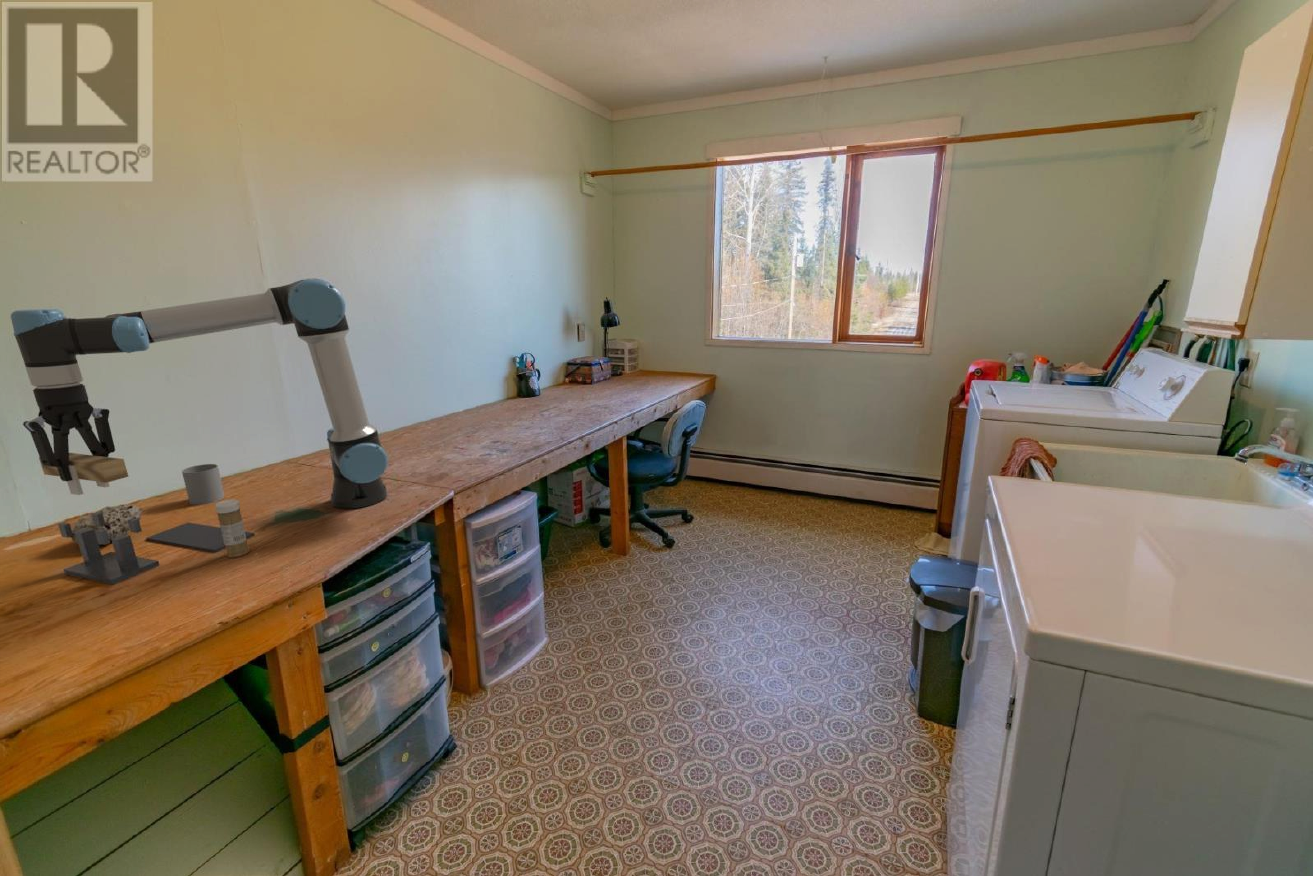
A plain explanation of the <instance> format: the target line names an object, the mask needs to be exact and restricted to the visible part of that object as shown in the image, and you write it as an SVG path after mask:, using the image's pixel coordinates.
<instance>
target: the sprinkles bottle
mask: <svg viewBox="0 0 1313 876" xmlns="http://www.w3.org/2000/svg"><path fill="white" fill-rule="evenodd" d="M214 507H215V513H216V515H217V517H218V520H219V526H220V527H219V528H221V532H222V536H223V540H224V544H225V547H226V548H225V552H226V557H228V558H238V557H243V556H245V555H246V554H248V553H249V552H250V547H249V543H248V541H247V539H246V534H245V532H246V530H245V526H244V522H243V518H242V514H241V506H240V501H239V500H237V499H226V500H221V501H218V502H217V503H216V504H215V505H214Z"/></svg>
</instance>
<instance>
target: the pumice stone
mask: <svg viewBox="0 0 1313 876" xmlns="http://www.w3.org/2000/svg"><path fill="white" fill-rule="evenodd" d="M96 512H98V513H103V517H104V520H105V524H106V525H105V526H102V527H99V526H95V525H94V521H93V518H92V515H91V514H92V513H90V514H87V515H85V516H82V517H80V518H79V519H78V520H77V521H75V522H74V523H73V524H72V525H70V526H71V529H72V532H73V536H72V537H69V538H70V539H71V541H72V542H75V543H77V544H78V541H77V538H76V534H75V532H78V531H81V530H84V529H87V528H90V529H94V531H96V530H99V529H104V530H107V533H108V536H109V539H110V541H112V540H111V539H113V538H115V537H118V536H121V535H126V534H127V532H129V531H130V528H129V524H128V519H131V518H135V519H139V522H140V521H141V519H142V517H143V514H142V512H143V508H142V507H138V506H136V505H133V504H132V505H131V504H119V505H116V506H105V507H103V508H101V509H100V510H97V511H96ZM95 535H96V533H95ZM96 538H97V537H96ZM97 541H98V540H97ZM98 545H100V544H99V543H98Z"/></svg>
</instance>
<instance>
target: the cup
mask: <svg viewBox="0 0 1313 876" xmlns="http://www.w3.org/2000/svg"><path fill="white" fill-rule="evenodd" d="M219 469H220V468H219V465H217V464H216V463H206V464H205V463H204V464H199V465H194V466H189V467H186V468H185V469H183V470H181V474H182V477H183V482H184V485H185V490H186V494H187V499H188V501H189V504H190V505H193V506H194V505H197V506H199V505H207V504H212V503H215V502H220V500H221V501H222V500H223V499H224V498H225V492H224V491H225V490H224V487H223V486H224V485H223V483H222V477H221V473H220V470H219Z"/></svg>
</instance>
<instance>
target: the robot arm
mask: <svg viewBox="0 0 1313 876" xmlns="http://www.w3.org/2000/svg"><path fill="white" fill-rule="evenodd" d="M10 319H11V324H12V327H13V332H14V333H13V335H14V337H15V340H16V343H17V346H18V349H19V351H20V354H21V357H22V360H23V364H24V367H25V371H26V373H27V376H28V378H29V382H30V385H31V386H33V387H35V388H34V389H33V390H32V393H33V395H34V398H35V401H36V405H37V407H38V409H39V411H38V414H37V415H38V416H37V417H36V418H34V419H31V420H29V421H28V420H26V421H23V424H22V425H23V426H24V428H25V429H27V431H28V432H29V433H30V436H31V438H32V440H33V442H34V445H35V448H36V451H37V453H38V457H40V459H41V462H42V464H43V465H44V466H52V467H57V469H58V472H59V475H60V476H59V478H60V480H61V481H63V482H66V483H67V487H68V489H69V492H70V495H76V496H77V495H78V496H81V495H83V494H84V491H83V486H82V484H81V480H80V479H79V478H78V475H77V471H76V468H75V465H69V453H70V450H69V448H70V447H69V445H70V444H69V435H70V431H71V430H73V429H75V430H76V431H77V432H78V434H79V435H80V437H81V438H82V440H83V441H84V443H85V445H86V447H87V448H88V450H89V451H90V454H91V455H93V456H102V457H110V456H109V455H110V454H111V453H114V452H116V446H115V442H114V439H113V434H112V431H111V426H110V422H109V417H110V410H109V409H108V408H97V407H93V405H91V403H90V402H89V396H88V393H87V389H86V385H84V384H83V383H82V382H83V381H84V379H83V375H82V372H81V369H80V364H79V363H78V359H77V356H83V355H84V356H85V355H99V354H101V355H102V354H115V353H116V354H120V353H127V354H131V353H135V352H144V351H147V350H149V349H150V344H153V343H159V342H165V341H166V342H167V341H173V340H177V339H182V338H184V339H186V338H189V337H196V336H202V335H207V334H214V333H220V332H226V331H231V330H238V329H243V328H245V329H246V328H250V327H255V326H256V327H257V326H262V325H267V324H273V323H274V324H275V323H277V324H278V325H281V326H286V325H292V324H293V325H294V327H295V330H296V334H297V337H298V338H299V339H300V340H302V341H304V342H305V343H307V347H308V349H309V353H310V357H311V361H312V363H313V366H314V369H315V373H316V376H317V380H318V383H319V385H320V390H321V392H322V396H323V399H324V402H325V406H326V410H327V412H328V416H329V418H330V422H331V426H332V428H330V429H328V430H327V433H326V434H327V435H326V436H327V437H326V441H327V443H328V447H329V448H328V449H329V450H328V451H329V455H330V461H331V467H332V472H333V473H332V474H333V479H334V480H333V483H332V492H331V494H330V502H331V505H332V507H334V508H337V509H358V508H365V507H369V506H372V505H375V504H378V503H380V502H382V501H384V500H386V499H387V497H388V489H387V487H386V485H385V484H384V482H383V479H382V478H381V476H382V475H383V474H384V473H385V471H386V470H387V467H388V461H389V460H388V455H387V452H386V450H385V449H384V448H383V446H382V443H381V439H380V436H379V433H378V429H377V427H375V426H374V425H371V424H370V423H369V420H368V417H367V412H366V409H365V405H364V402H363V397H362V394H361V390H360V387H359V383H358V381H357V377H356V372H355V370H354V366H353V363H352V359H351V356H350V355H351V354H350V351H349V347H348V344H347V341H346V336H347V335H348V333H349V331H350V328H349V325H348V321H347V317H346V302H345V299H344V297H343V294H342V293H341V292H340V291H339V289H338V288H337V287H335V286H334V285H333V284H331V283H330V282H328V281H326V280H324V279H319V278H306V279H299V280H298V281H294V282H291V283H289V284H285V285H281V286H276V287H270V288H267V290H266V291H265V292H264V293H263V292H262V293H257V294H250V295H243V296H236V297H229V298H224V299H223V298H222V299H215V300H209V301H201V302H195V303H187V304H179V305H175V306H174V305H173V306H168V307H161V308H160V307H159V308H154V309H153V308H152V309H147V310H141V311H134V312H133V311H131V312H126V313H125V312H124V313H115V314H109V315H106V316H104V317H103V316H102V317H90V318H89V317H87V318H70V317H69V318H67V316H66V315H64V312H63V310H61V309H56V308H55V309H54V308H53V309H52V308H51V309H47V308H45V309H20V310H15V311H13V312H11V314H10ZM91 416H92V417H93V420H94V425H95V429H96V434H97V435H96V434H95V433H94V431H93V426H92V424H91V423H90V421H89V420H90V418H91ZM45 423H46V424H48V426H50V428H51V434H52V437H53V438H52V439H53V443H52V444H53V448H52V445H51V443H50V439H49V436H48V434H47V432H46V430H45ZM95 484H96V486H97V487H100V488H109V487H110V482H107V483H104V482H97V481H95Z"/></svg>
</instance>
